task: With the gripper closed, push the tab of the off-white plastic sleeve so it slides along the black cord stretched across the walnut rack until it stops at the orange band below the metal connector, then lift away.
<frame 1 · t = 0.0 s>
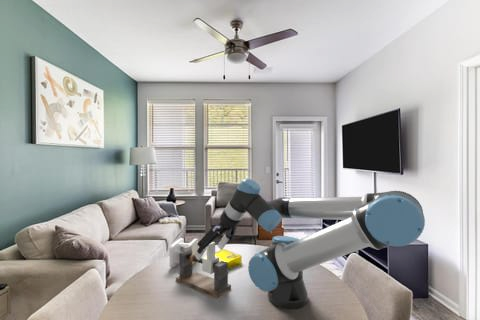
hand: (208, 252, 100), 15 cm above the table, tool tilted 35°, fingers open, 13 cm apart
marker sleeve: (211, 256, 101), point 13 cm above the table, slide at 0.0 cm
cable organizer: (184, 264, 126), on the table
cord rack: (202, 284, 104), on the table
element tile: (222, 264, 126), on the table
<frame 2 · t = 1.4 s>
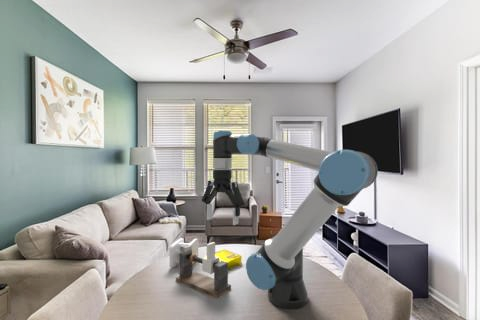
hand: (222, 221, 98), 28 cm above the table, tool pointing down, fingers open, 13 cm apart
nothing on the table moved.
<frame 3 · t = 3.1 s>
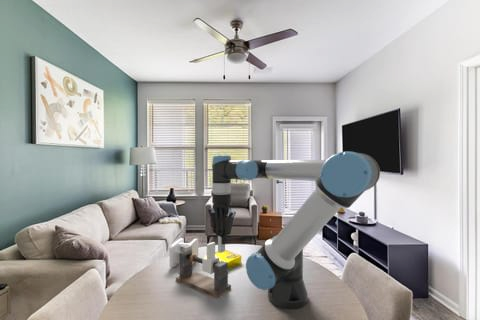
hand: (221, 251, 98), 16 cm above the table, tool pointing down, fingers closed
nothing on the table moved.
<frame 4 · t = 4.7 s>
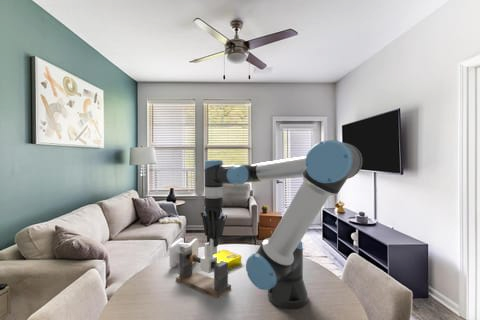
hand: (213, 253, 101), 15 cm above the table, tool pointing down, fingers closed
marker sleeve: (208, 256, 102), point 13 cm above the table, slide at 1.2 cm, touching gripper
everything else where it was.
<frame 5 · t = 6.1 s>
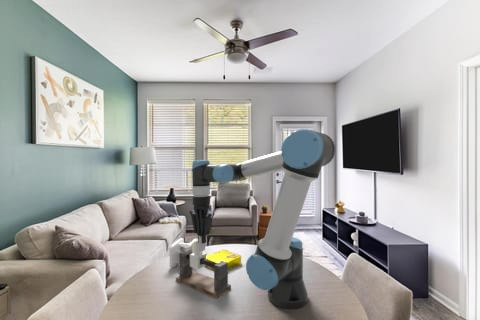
hand: (202, 250, 104), 15 cm above the table, tool pointing down, fingers closed
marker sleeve: (198, 252, 106), point 13 cm above the table, slide at 7.5 cm, touching cord rack, gripper
everything else where it was.
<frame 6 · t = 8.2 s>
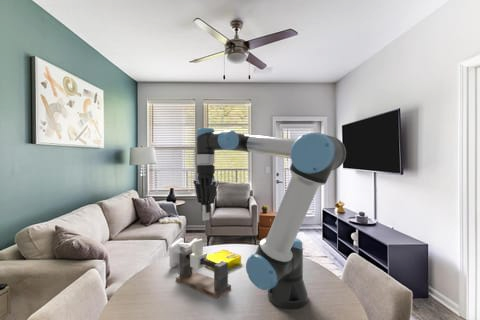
hand: (206, 219, 103), 28 cm above the table, tool pointing down, fingers closed
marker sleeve: (198, 253, 106), point 13 cm above the table, slide at 7.3 cm
everything else where it was.
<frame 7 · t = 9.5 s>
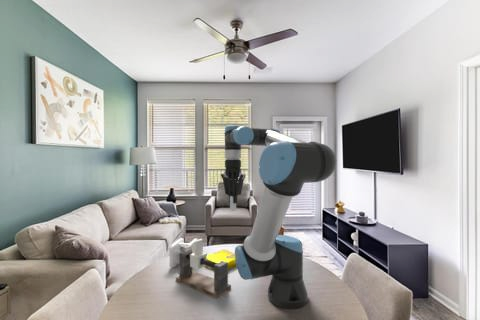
hand: (233, 210, 112), 30 cm above the table, tool pointing down, fingers closed
nothing on the table moved.
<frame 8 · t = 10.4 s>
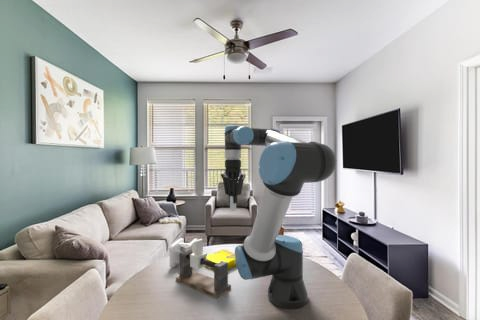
hand: (233, 210, 112), 30 cm above the table, tool pointing down, fingers closed
nothing on the table moved.
at the end: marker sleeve slide at 7.3 cm; cable organizer moved 0.3 cm from its start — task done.
